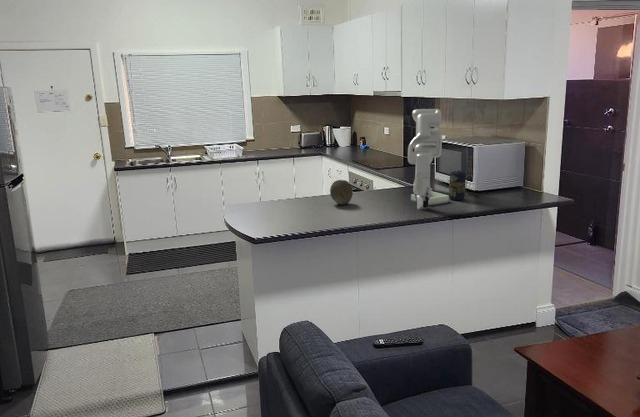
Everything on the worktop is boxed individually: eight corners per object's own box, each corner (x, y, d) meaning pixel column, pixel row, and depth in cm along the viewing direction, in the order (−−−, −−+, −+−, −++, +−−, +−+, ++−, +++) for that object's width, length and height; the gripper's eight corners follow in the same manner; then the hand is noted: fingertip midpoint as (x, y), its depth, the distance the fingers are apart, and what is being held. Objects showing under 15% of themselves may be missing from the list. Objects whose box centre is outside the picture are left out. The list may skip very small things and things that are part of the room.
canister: (445, 199, 320) (446, 170, 316) (455, 197, 326) (456, 168, 322) (458, 201, 313) (459, 172, 309) (468, 199, 319) (469, 170, 314)
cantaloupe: (357, 203, 318) (357, 179, 315) (345, 207, 307) (344, 183, 304) (337, 200, 326) (337, 177, 323) (325, 205, 315) (324, 181, 311)
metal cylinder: (414, 208, 301) (414, 194, 299) (422, 206, 304) (423, 193, 302) (421, 210, 296) (421, 196, 294) (429, 208, 298) (429, 195, 296)
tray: (411, 200, 320) (411, 194, 319) (431, 197, 327) (431, 191, 326) (427, 205, 306) (427, 199, 305) (448, 202, 313) (448, 195, 312)
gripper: (407, 173, 301) (407, 204, 305) (426, 178, 286) (426, 209, 290) (418, 172, 304) (418, 202, 308) (437, 176, 289) (436, 208, 293)
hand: (422, 205), depth 299 cm, fingers closed on metal cylinder, 6 cm apart
